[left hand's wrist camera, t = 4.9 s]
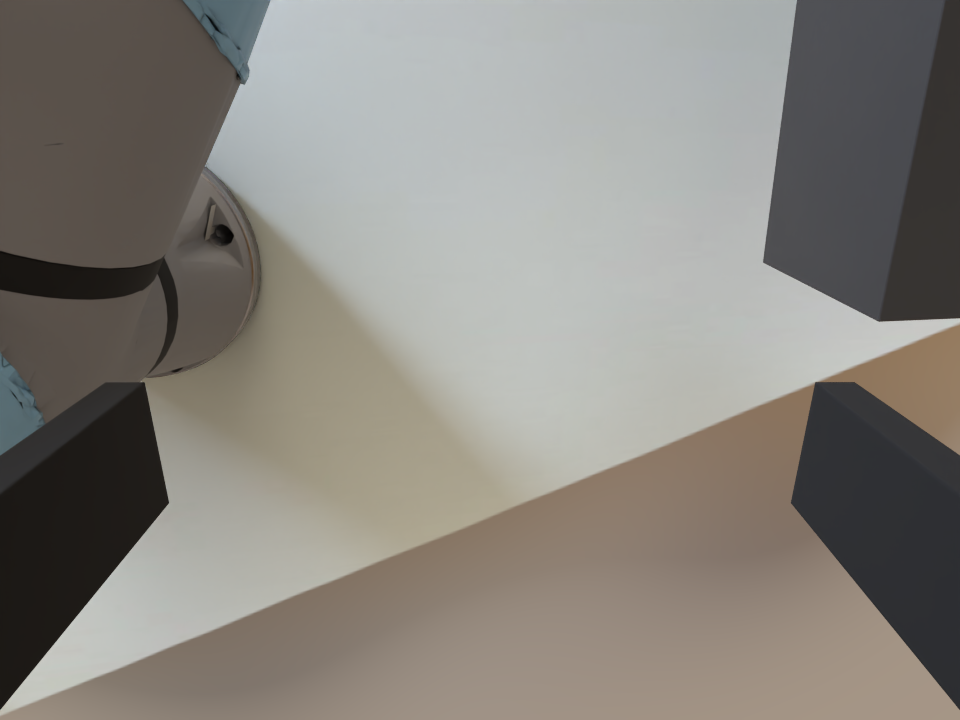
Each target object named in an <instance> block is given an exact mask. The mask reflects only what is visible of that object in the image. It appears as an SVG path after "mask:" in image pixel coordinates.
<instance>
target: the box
mask: <svg viewBox="0 0 960 720" xmlns="http://www.w3.org/2000/svg"><path fill="white" fill-rule="evenodd" d="M763 263H765V264H767V265H769V266H771V267H773V268H775V269H777V270H779V271H781V272H783V273H785V274H787V275H789V276H791V277H793V278H795V279H797V280H798V281H800V282H802V283H804V284H806V285H808V286H810V287H812V288H814V289H816V290H818V291H820V292H822V293H824V294H826V295H828V296H830V297H832V298H834V299H836V300H838V301H840V302H842V303H843V304H845V305H847V306H849V307H851V308H853V309H855V310H857V311H859V312H861V313H863V314H865V315H867V316H869V317H871V318H873V319H875V320H877V321H879V322H880V321H904V320H928V319H952V318H960V0H797V5H796V13H795V20H794V28H793V36H792V43H791V51H790V59H789V67H788V74H787V82H786V90H785V97H784V105H783V113H782V121H781V128H780V136H779V144H778V151H777V159H776V167H775V175H774V182H773V190H772V198H771V205H770V213H769V221H768V229H767V236H766V244H765V252H764V259H763Z"/></svg>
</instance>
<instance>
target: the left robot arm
mask: <svg viewBox="0 0 960 720" xmlns="http://www.w3.org/2000/svg"><path fill="white" fill-rule="evenodd" d="M269 3H270V0H0V709H1V708H2V707H3V706H4V705H5V703H6V702H7V701H8V700H9V698H10V697H11V696H12V695H13V694H14V692H15V691H16V690H17V689H18V687H19V686H20V685H21V684H22V683H23V681H24V680H25V679H26V678H27V676H28V675H29V674H30V673H31V671H32V670H33V669H34V668H35V667H36V665H37V664H38V663H39V662H40V660H41V659H42V658H43V657H44V656H45V654H46V653H47V652H48V651H49V649H50V648H51V647H52V646H53V645H54V643H55V642H56V641H57V640H58V638H59V637H60V636H61V635H62V633H63V632H64V631H65V630H66V629H67V627H68V626H69V625H70V624H71V622H72V621H73V620H74V619H75V618H76V616H77V615H78V614H79V613H80V611H81V610H82V609H83V608H84V607H85V605H86V604H87V603H88V602H89V600H90V599H91V598H92V597H93V596H94V594H95V593H96V592H97V591H98V589H99V588H100V587H101V586H102V584H103V583H104V582H105V581H106V580H107V578H108V577H109V576H110V575H111V573H112V572H113V571H114V570H115V569H116V567H117V566H118V565H119V564H120V562H121V561H122V560H123V559H124V558H125V556H126V555H127V554H128V553H129V551H130V550H131V549H132V548H133V546H134V545H135V544H136V543H137V542H138V540H139V539H140V538H141V537H142V535H143V534H144V533H145V532H146V531H147V529H148V528H149V527H150V526H151V524H152V523H153V522H154V521H155V520H156V518H157V517H158V516H159V515H160V513H161V512H162V511H163V510H164V508H165V507H166V506H167V505H168V504H169V500H168V495H167V490H166V486H165V481H164V476H163V471H162V466H161V461H160V456H159V451H158V446H157V441H156V436H155V431H154V426H153V421H152V416H151V412H150V407H149V402H148V397H147V392H146V387H145V382H140V381H141V380H142V379H143V378H151V377H161V376H167V375H172V374H177V373H180V372H183V371H187V370H190V369H192V368H195V367H197V366H199V365H201V364H204V363H205V362H207V361H209V360H210V359H212V358H213V357H215V356H216V355H217V354H219V353H220V352H221V351H222V350H223V349H224V348H225V347H226V346H227V345H228V344H229V343H230V342H231V341H233V340H234V339H235V338H236V337H237V335H238V334H239V333H240V332H241V330H242V329H243V328H244V326H245V325H246V323H247V322H248V320H249V318H250V316H251V314H252V312H253V310H254V307H255V304H256V301H257V297H258V293H259V287H260V272H261V268H260V257H259V252H258V246H257V243H256V239H255V236H254V233H253V230H252V228H251V225H250V223H249V221H248V219H247V217H246V215H245V213H244V211H243V209H242V208H241V206H240V204H239V203H238V201H237V200H236V199H235V197H234V196H233V194H232V193H231V192H230V191H229V189H228V188H227V187H226V186H225V185H224V184H223V183H222V181H221V180H219V179H218V178H217V177H216V176H215V175H214V174H213V173H212V172H211V171H210V170H209V169H207V168H206V167H205V164H206V162H207V160H208V157H209V155H210V153H211V150H212V148H213V146H214V143H215V141H216V139H217V136H218V134H219V132H220V129H221V127H222V125H223V122H224V120H225V118H226V115H227V113H228V111H229V108H230V106H231V104H232V102H233V99H234V97H235V95H236V92H237V90H238V88H239V85H240V83H241V84H244V85H245V83H246V81H247V79H248V77H249V68H248V65H247V63H248V60H249V57H250V55H251V52H252V49H253V46H254V44H255V41H256V38H257V35H258V33H259V30H260V27H261V24H262V21H263V19H264V16H265V13H266V11H267V8H268V5H269ZM791 504H792V505H793V506H794V507H795V508H796V510H797V511H798V512H799V513H800V515H801V516H802V517H803V518H804V520H805V521H806V522H807V523H808V524H809V526H810V527H811V528H812V529H813V531H814V532H815V533H816V534H817V535H818V537H819V538H820V539H821V540H822V542H823V543H824V544H825V545H826V546H827V548H828V549H829V550H830V551H831V553H832V554H833V555H834V556H835V557H836V559H837V560H838V561H839V562H840V564H841V565H842V566H843V567H844V569H845V570H846V571H847V572H848V573H849V575H850V576H851V577H852V578H853V580H854V581H855V582H856V583H857V584H858V586H859V587H860V588H861V589H862V591H863V592H864V593H865V594H866V596H867V597H868V598H869V599H870V600H871V602H872V603H873V604H874V605H875V607H876V608H877V609H878V610H879V611H880V613H881V614H882V615H883V616H884V617H885V619H886V620H887V621H888V622H889V624H890V625H891V626H892V627H893V628H894V630H895V631H896V632H897V633H898V635H899V636H900V637H901V638H902V640H903V641H904V642H905V643H906V645H907V646H908V647H909V648H910V649H911V651H912V652H913V653H914V654H915V656H916V657H917V658H918V659H919V660H920V662H921V663H922V664H923V665H924V667H925V668H926V669H927V670H928V671H929V673H930V674H931V675H932V676H933V678H934V679H935V680H936V681H937V683H938V684H939V685H940V686H941V687H942V689H943V690H944V691H945V692H946V693H947V695H948V696H949V697H950V698H951V700H952V701H953V702H954V703H955V705H956V706H957V707H958V708H959V709H960V455H958V454H957V453H955V452H954V451H953V450H951V449H950V448H948V447H947V446H945V445H944V444H943V443H941V442H940V441H938V440H937V439H935V438H934V437H932V436H931V435H930V434H928V433H927V432H925V431H924V430H922V429H921V428H919V427H918V426H917V425H915V424H914V423H912V422H911V421H909V420H908V419H907V418H905V417H904V416H902V415H901V414H899V413H898V412H897V411H895V410H894V409H892V408H891V407H889V406H888V405H886V404H885V403H884V402H882V401H881V400H879V399H878V398H876V397H875V396H874V395H872V394H871V393H869V392H868V391H866V390H865V389H863V388H862V387H861V386H859V385H858V384H856V383H855V382H815V387H814V392H813V397H812V402H811V407H810V412H809V416H808V422H807V426H806V431H805V436H804V441H803V446H802V451H801V456H800V461H799V466H798V471H797V476H796V481H795V486H794V490H793V495H792V500H791Z"/></svg>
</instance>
